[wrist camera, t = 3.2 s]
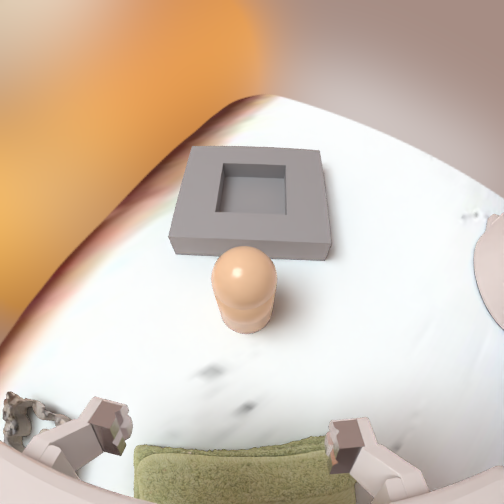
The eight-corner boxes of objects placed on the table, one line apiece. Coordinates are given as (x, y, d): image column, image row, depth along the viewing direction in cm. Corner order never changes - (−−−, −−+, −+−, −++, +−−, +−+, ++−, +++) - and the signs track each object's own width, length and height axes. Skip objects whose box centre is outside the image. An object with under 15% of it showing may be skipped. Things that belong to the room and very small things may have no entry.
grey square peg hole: (315, 169, 34) (319, 150, 31) (324, 260, 28) (331, 243, 25) (195, 165, 34) (192, 146, 32) (175, 254, 28) (168, 236, 26)
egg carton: (32, 391, 21) (6, 384, 17) (89, 426, 20) (65, 425, 16) (14, 476, 16) (-11, 476, 12) (70, 516, 15) (46, 524, 11)
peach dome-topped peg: (272, 286, 27) (279, 234, 20) (271, 335, 24) (279, 298, 17) (222, 284, 27) (211, 231, 20) (218, 332, 24) (203, 294, 17)
